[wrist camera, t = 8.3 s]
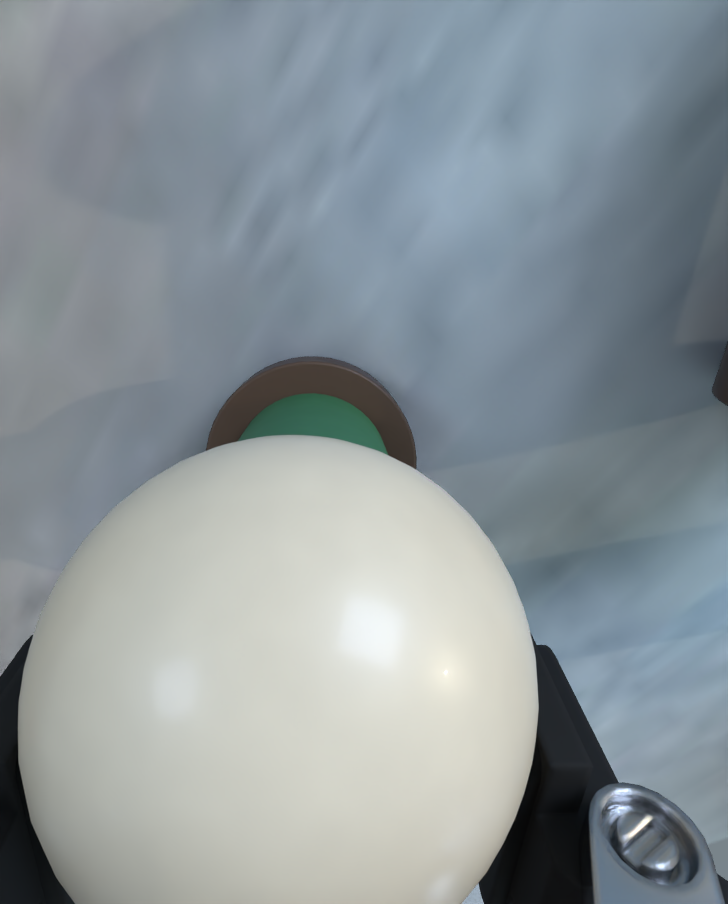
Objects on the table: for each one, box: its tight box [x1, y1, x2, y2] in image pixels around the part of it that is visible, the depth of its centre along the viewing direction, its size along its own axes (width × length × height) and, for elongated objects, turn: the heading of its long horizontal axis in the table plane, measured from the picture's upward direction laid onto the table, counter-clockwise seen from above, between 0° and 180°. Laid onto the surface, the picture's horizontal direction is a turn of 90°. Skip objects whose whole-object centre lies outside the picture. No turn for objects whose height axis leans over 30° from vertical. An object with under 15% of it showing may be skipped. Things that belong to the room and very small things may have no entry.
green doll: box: [18, 357, 539, 904], centre depth 10 cm, size 13×6×6 cm
